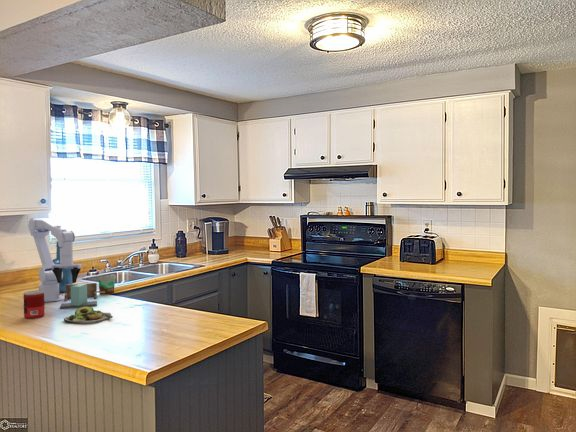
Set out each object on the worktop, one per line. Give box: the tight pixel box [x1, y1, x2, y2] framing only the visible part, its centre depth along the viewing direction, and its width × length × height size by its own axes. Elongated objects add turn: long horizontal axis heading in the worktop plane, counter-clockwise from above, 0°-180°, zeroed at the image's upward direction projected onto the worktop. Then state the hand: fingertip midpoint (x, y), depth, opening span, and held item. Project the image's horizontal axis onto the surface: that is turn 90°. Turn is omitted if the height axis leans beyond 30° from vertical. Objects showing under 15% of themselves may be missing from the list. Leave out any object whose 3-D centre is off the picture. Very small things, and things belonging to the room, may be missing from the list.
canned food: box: [23, 289, 45, 320], centre depth 201 cm, size 8×8×11 cm
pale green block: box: [70, 283, 88, 306], centre depth 223 cm, size 4×8×9 cm, turn 177°
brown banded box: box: [64, 282, 98, 302], centre depth 241 cm, size 15×9×7 cm, turn 112°
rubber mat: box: [59, 300, 98, 310], centre depth 223 cm, size 16×8×1 cm, turn 112°
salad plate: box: [63, 306, 114, 325], centre depth 197 cm, size 19×18×5 cm
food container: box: [97, 273, 117, 295], centre depth 256 cm, size 12×6×10 cm, turn 168°
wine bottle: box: [52, 240, 75, 294], centre depth 262 cm, size 14×13×30 cm
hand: (66, 282), depth 228 cm, fingers open, 7 cm apart
